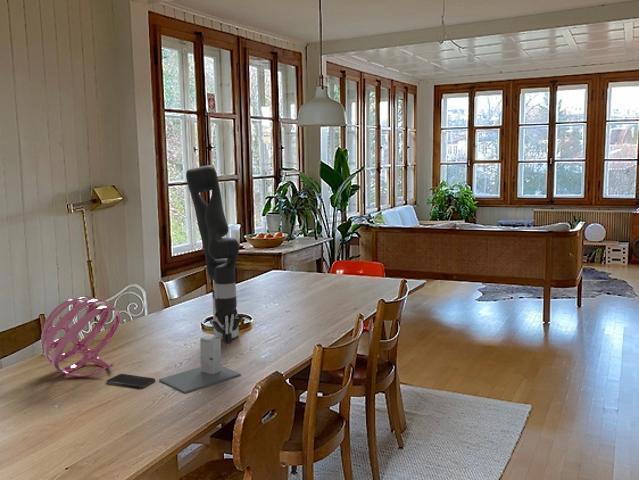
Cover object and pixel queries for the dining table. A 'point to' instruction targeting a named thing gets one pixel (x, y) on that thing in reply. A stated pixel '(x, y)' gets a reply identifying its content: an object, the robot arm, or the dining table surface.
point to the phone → (131, 381)
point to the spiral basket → (72, 333)
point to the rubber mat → (197, 379)
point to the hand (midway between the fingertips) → (227, 343)
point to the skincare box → (210, 354)
